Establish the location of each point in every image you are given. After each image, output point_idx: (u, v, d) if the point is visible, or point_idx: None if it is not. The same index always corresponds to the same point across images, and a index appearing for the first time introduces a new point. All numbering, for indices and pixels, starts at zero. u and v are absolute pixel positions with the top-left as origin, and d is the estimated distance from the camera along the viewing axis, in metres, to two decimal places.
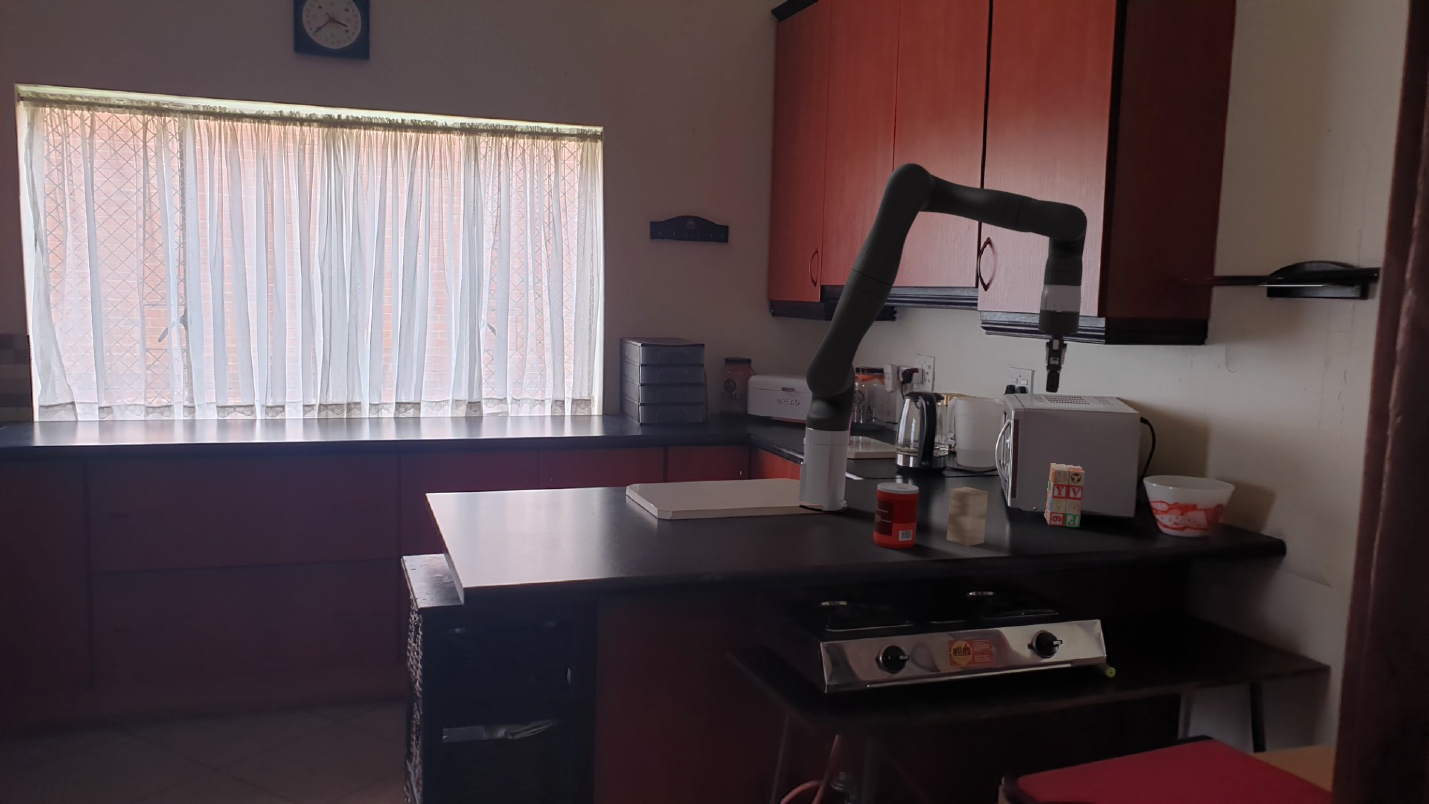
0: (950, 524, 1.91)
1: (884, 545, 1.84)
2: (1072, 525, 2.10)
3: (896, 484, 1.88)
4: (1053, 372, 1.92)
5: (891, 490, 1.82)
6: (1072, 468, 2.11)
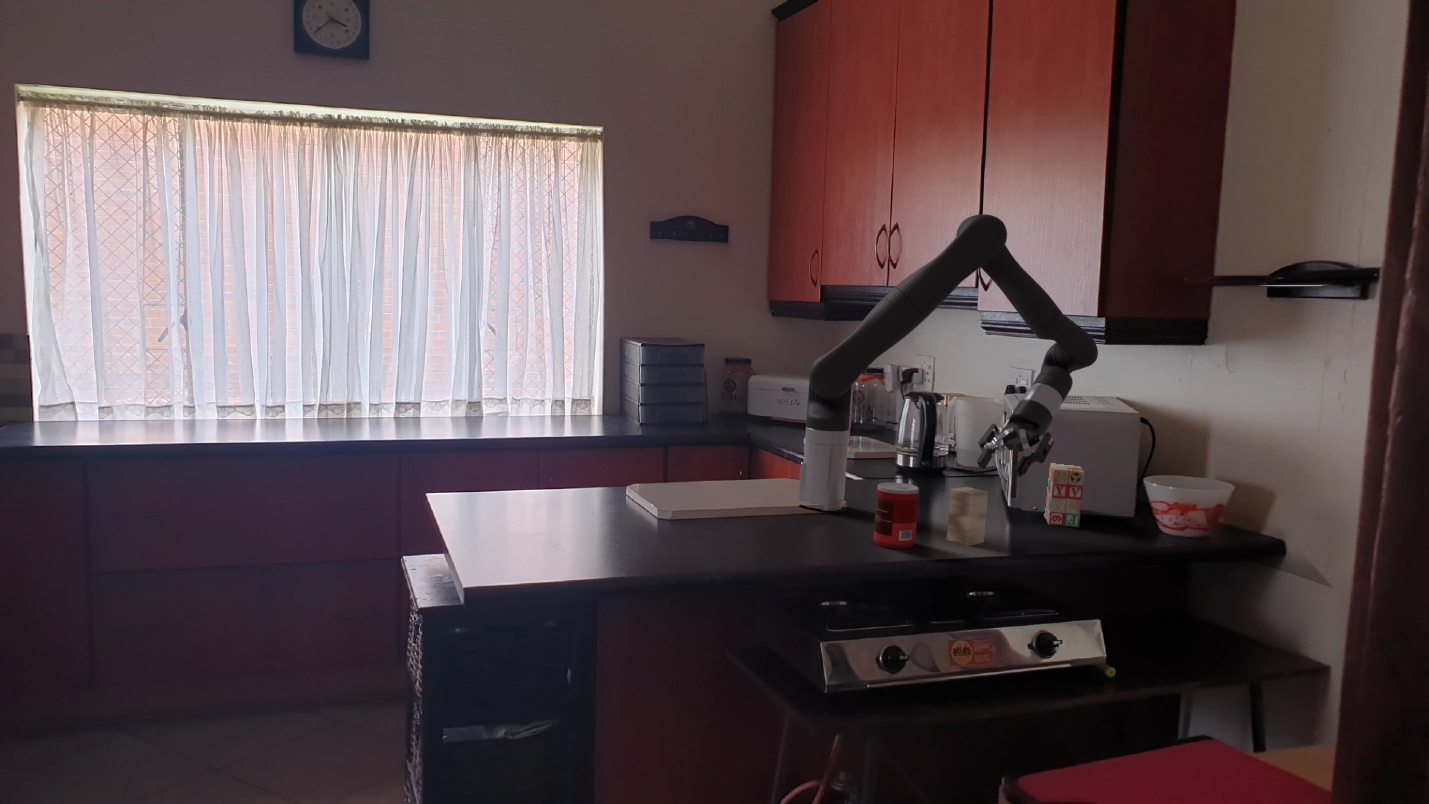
0: (950, 524, 1.91)
1: (884, 545, 1.84)
2: (1072, 525, 2.10)
3: (896, 484, 1.88)
4: (1032, 460, 1.94)
5: (891, 490, 1.82)
6: (1072, 468, 2.12)
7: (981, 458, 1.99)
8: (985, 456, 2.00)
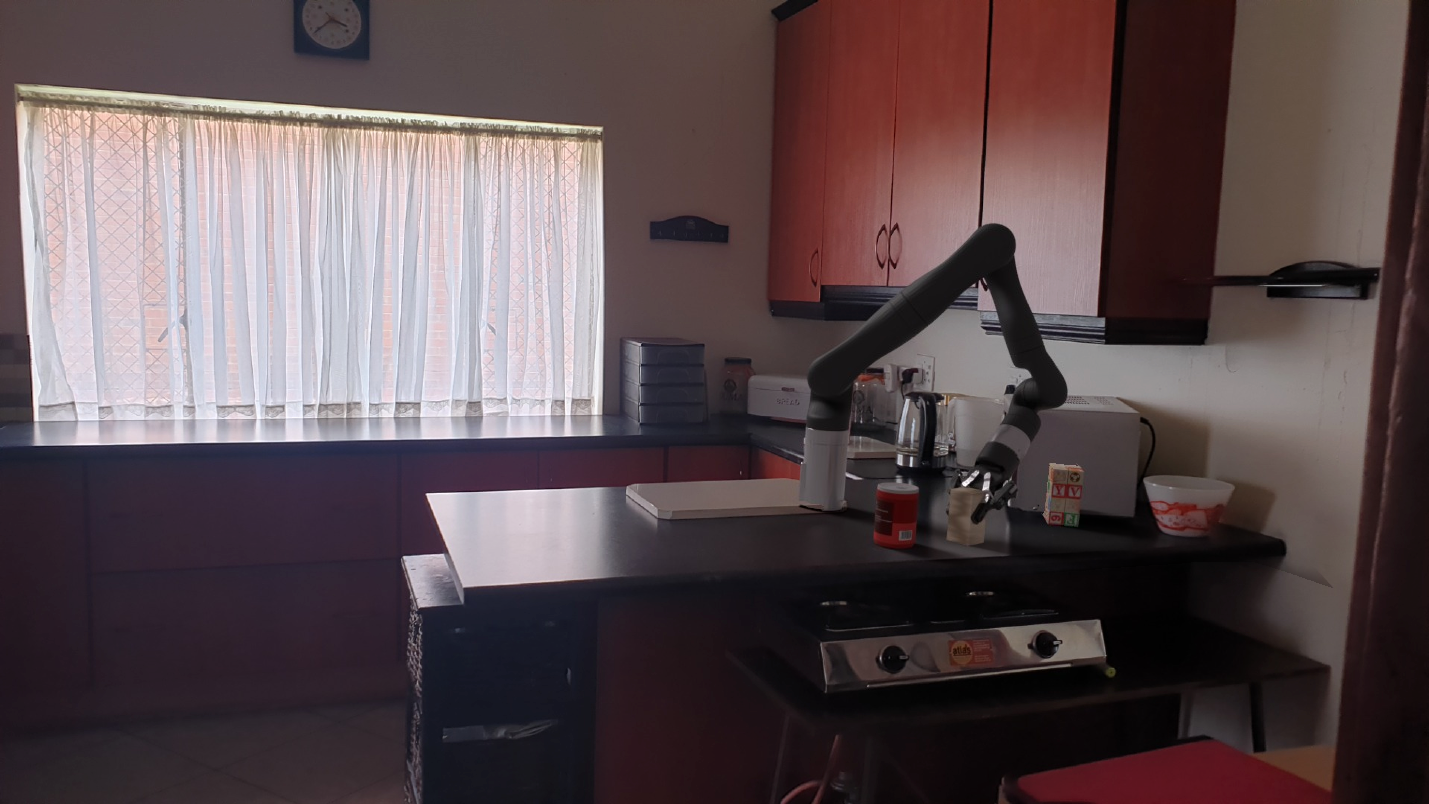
0: (950, 524, 1.91)
1: (884, 545, 1.84)
2: (1071, 524, 2.10)
3: (896, 484, 1.88)
4: (989, 507, 1.89)
5: (891, 490, 1.82)
6: (1071, 467, 2.12)
7: None
8: None
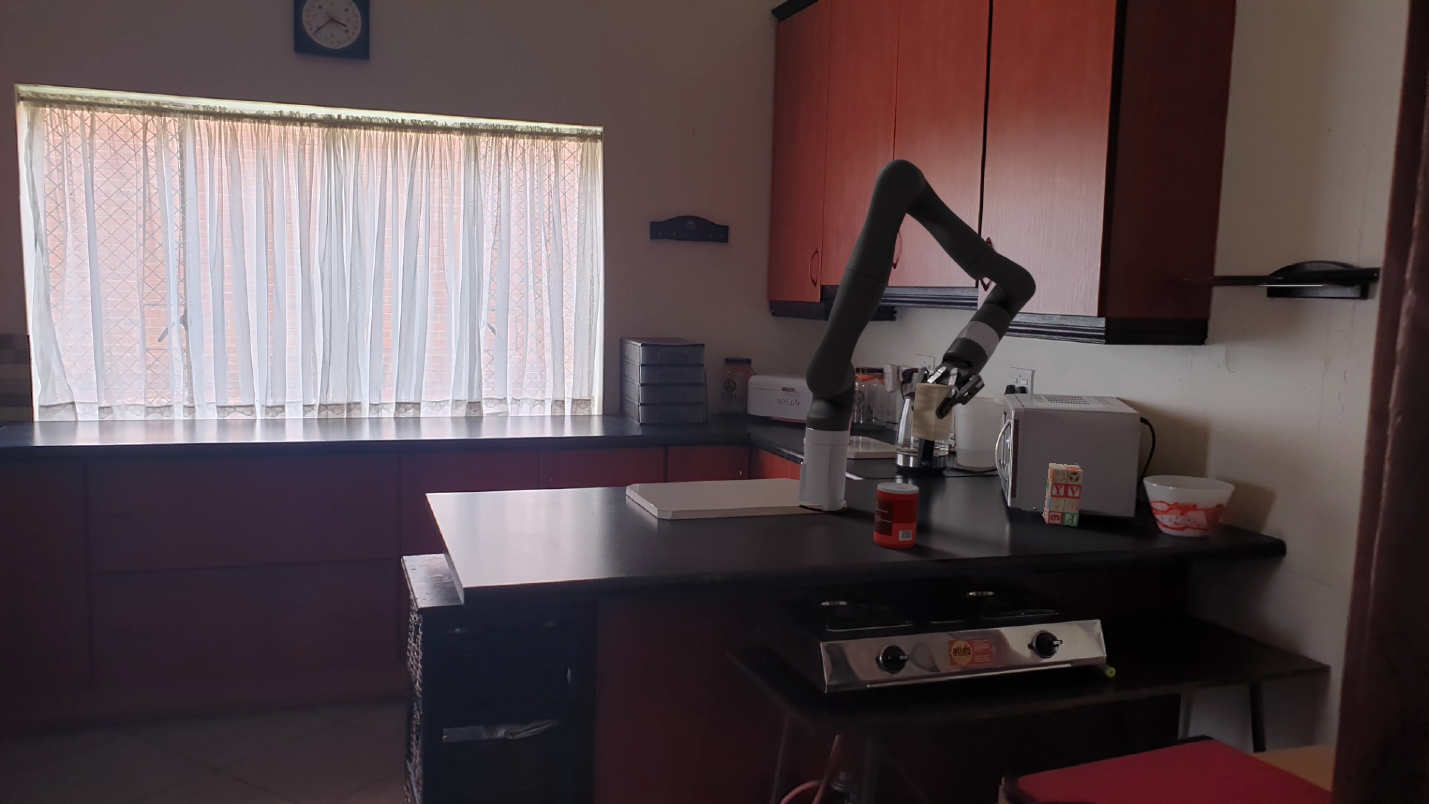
0: (915, 420, 1.86)
1: (884, 545, 1.84)
2: (1070, 524, 2.11)
3: (896, 484, 1.88)
4: (954, 401, 1.83)
5: (891, 490, 1.82)
6: (1070, 467, 2.12)
7: None
8: None
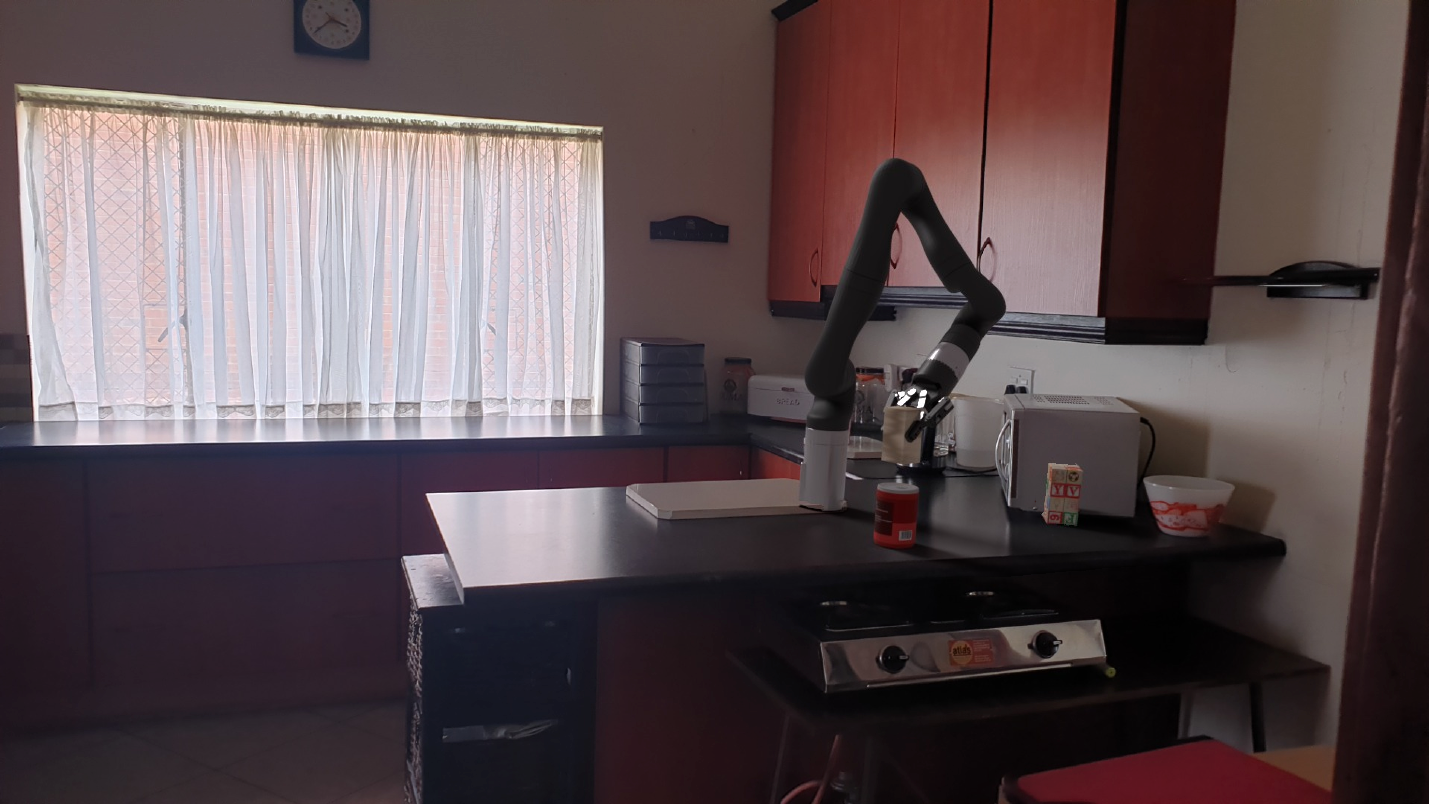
0: (884, 443, 1.84)
1: (884, 545, 1.84)
2: (1070, 523, 2.11)
3: (896, 484, 1.88)
4: (924, 424, 1.82)
5: (891, 490, 1.82)
6: (1070, 467, 2.13)
7: None
8: None
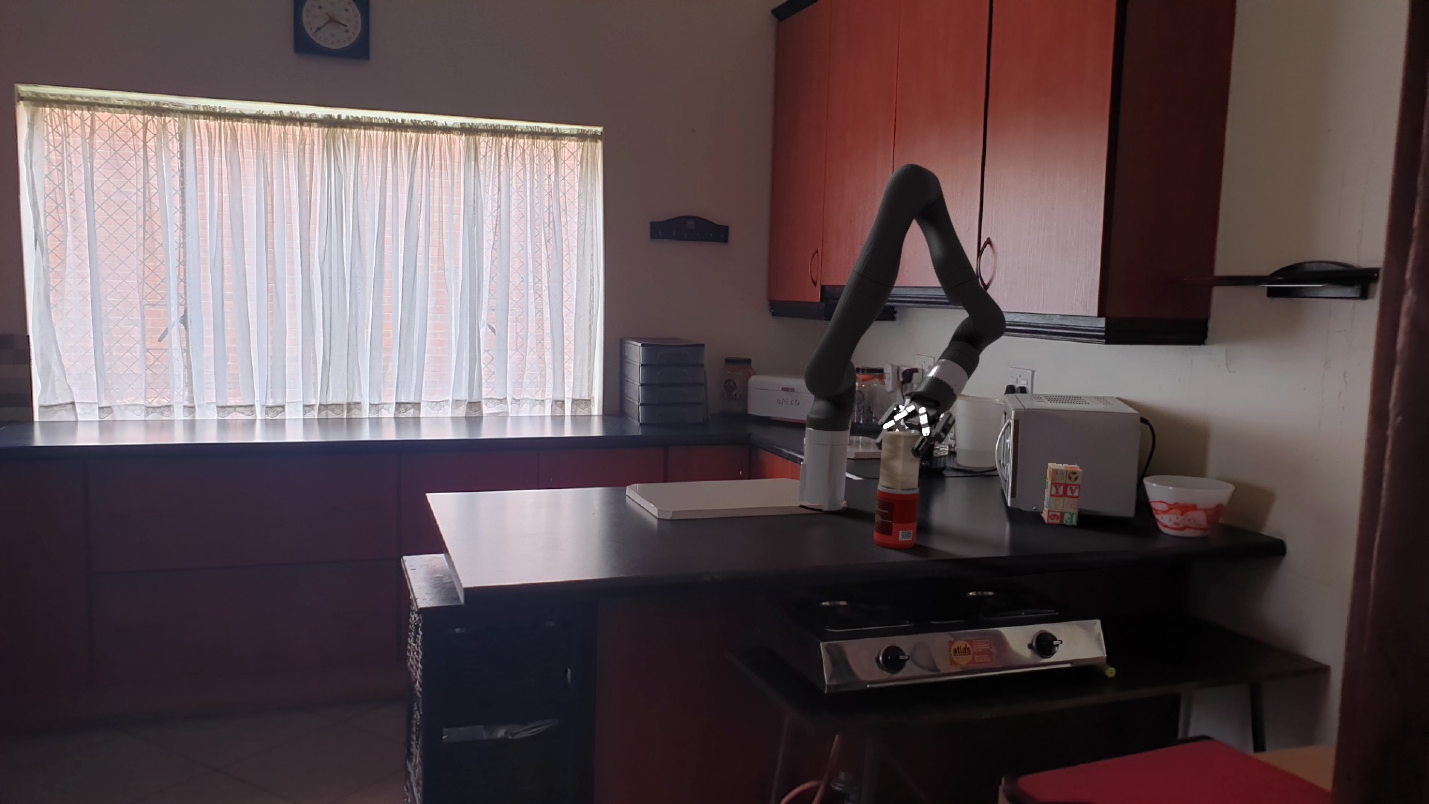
0: (882, 468, 1.85)
1: (884, 545, 1.84)
2: (1069, 523, 2.11)
3: None
4: (931, 440, 1.81)
5: (891, 490, 1.82)
6: (1069, 467, 2.13)
7: (879, 438, 1.87)
8: None
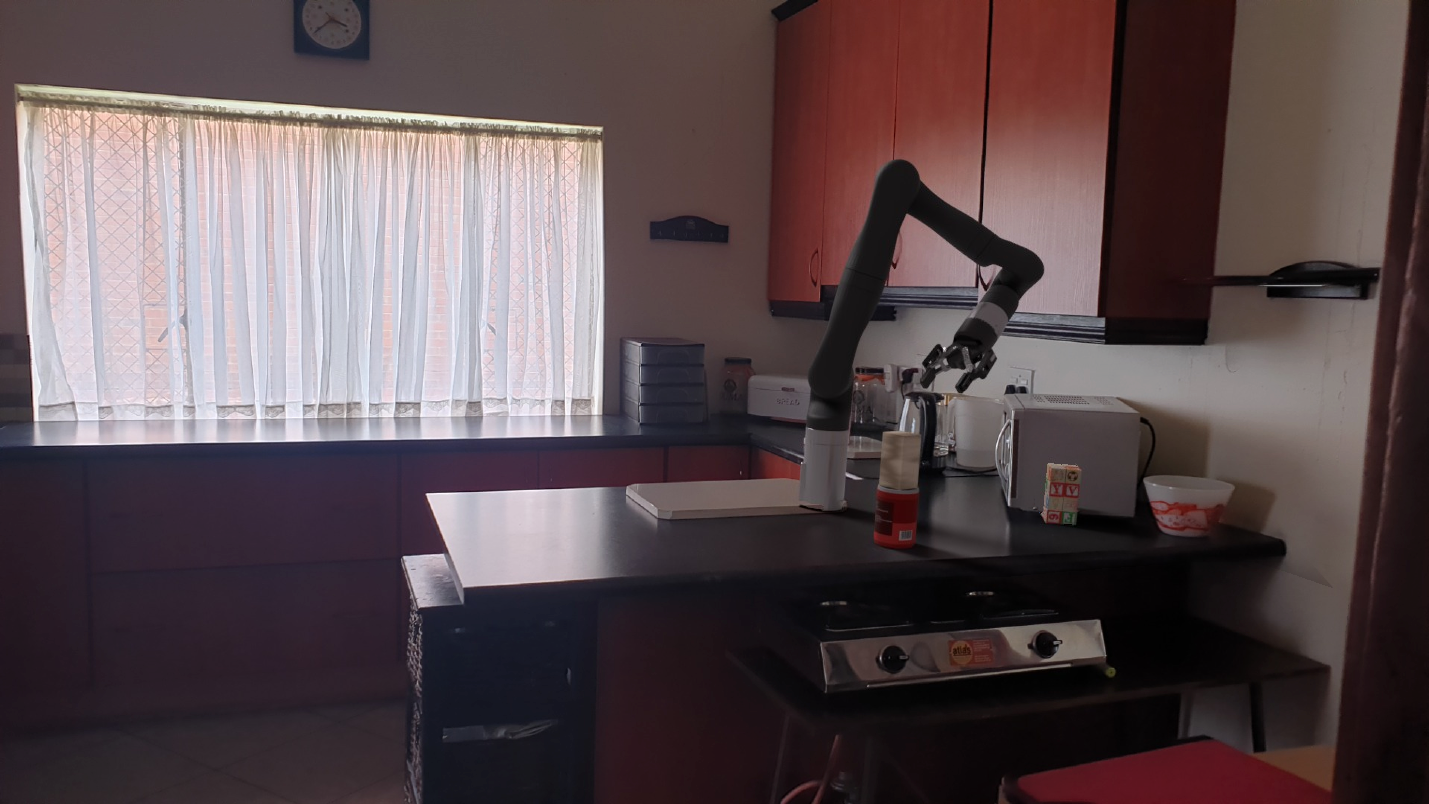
0: (882, 468, 1.85)
1: (884, 545, 1.84)
2: (1069, 523, 2.12)
3: None
4: (974, 376, 1.90)
5: (891, 490, 1.82)
6: (1069, 466, 2.13)
7: (924, 377, 1.96)
8: (928, 375, 1.96)
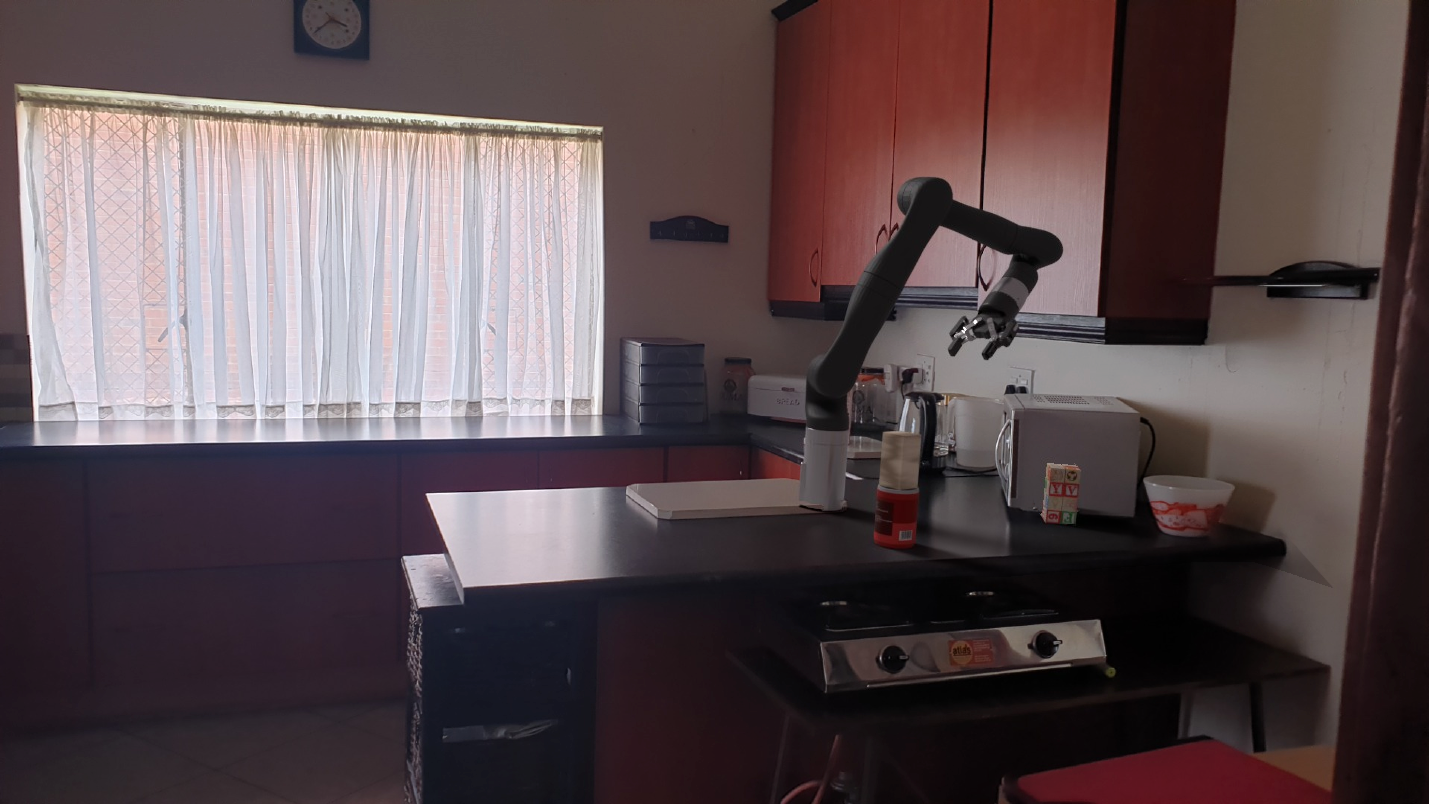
0: (882, 468, 1.85)
1: (884, 545, 1.84)
2: (1068, 522, 2.12)
3: None
4: (998, 344, 2.06)
5: (891, 490, 1.82)
6: (1068, 466, 2.13)
7: (951, 346, 2.12)
8: (955, 344, 2.13)
